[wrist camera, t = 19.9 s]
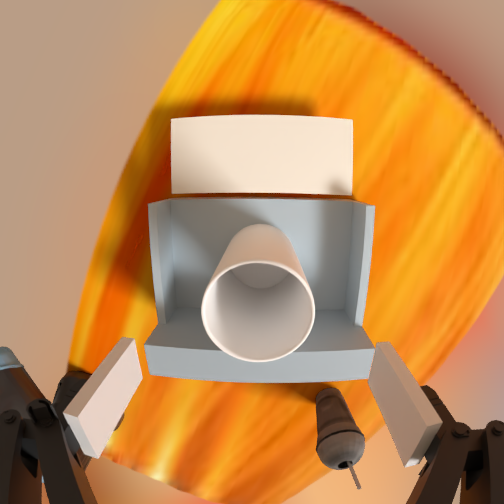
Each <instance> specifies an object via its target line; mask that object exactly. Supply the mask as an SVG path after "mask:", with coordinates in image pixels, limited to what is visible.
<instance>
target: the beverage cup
mask: <svg viewBox="0 0 504 504" xmlns="http://www.w3.org/2000/svg"><path fill="white" fill-rule="evenodd" d="M316 415H317V432H318V438H317V446H316V451H317V453H318V456H319V458H320V460H321V461H322V463H323V464H325V465H326V466H327V467H329V468H332V469H336V470H342V469H347V468H349V469H350V471H351V473H352V476H353V479H354V481H355V484H356V486H357V489H360V488H361V486H360V483H359V481H358V479H357V476H356V474H355V471H354V469H353V465H354V464H356V463H357V462H358V461H359V460H360V458H361V457H362V455H363V452H364V449H365V442H364V441H365V438H364V435H363V434H362V433H361V431H360V429H359V428H358V427H357V426H356V423H355V421H354V419H353V417H352V415H351V413H350V410H349V408H348V406H347V404H346V402H345V400H344V398H343V396H342V394H341V392H340V391H339V390H338V389H336V388H327V389H324V390H322V391H321V392H319V393H318V394H317V396H316Z"/></svg>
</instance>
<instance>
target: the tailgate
mask: <svg viewBox="0 0 504 504" xmlns="http://www.w3.org/2000/svg"><path fill="white" fill-rule="evenodd" d="M352 171H353V120H350V119H339V118H328V117H313V116H293V115H221V116H201V117H187V118H175V119H171V181H172V194H183V193H304V194H332V195H352Z"/></svg>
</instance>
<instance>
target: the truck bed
mask: <svg viewBox="0 0 504 504" xmlns="http://www.w3.org/2000/svg"><path fill="white" fill-rule="evenodd" d="M148 215H149V234H150V249H151V261H152V272H153V283H154V292H155V301H156V309H157V317H158V325H157V326H156V328H155V329H154V331H153V332H152V333H151V335H150V336H149V338H148V339H147V341H146V342H145V344H144V348H145V353H146V358H147V363H148V368H149V373H150V375H158V376H166V377H175V378H185V379H196V380H209V381H225V382H250V383H303V382H327V381H343V380H356V379H367V378H368V376H369V372H370V368H371V364H372V360H373V355H374V351H375V348H374V346H373V344H372V342H371V341H370V339H369V337H368V336H367V334H366V333H365V331H364V329H363V328H362V323H363V317H364V310H365V304H366V297H367V289H368V281H369V273H370V264H371V254H372V243H373V230H374V215H375V206H373V205H370V204H366V203H362V202H359V201H355V200H350V199H327V198H296V197H187V198H170V199H166V200H161V201H157V202H153V203H149V204H148ZM254 224H267V225H271V226H274V227H276V228H278V229H280V230H281V231H282V232H283V233H285V234H286V236H287V237H288V238H289V240H290V241H291V243H292V245H293V248H294V250H295V253H296V255H297V257H298V260H299V262H300V265H301V267H302V269H303V272H304V274H305V277H306V279H307V282H308V284H309V287H310V289H311V292H312V295H313V298H314V304H315V318H314V323H313V326H312V329H311V331H310V333H309V335H308V337H307V338H306V340H305V341H304V342H303V343H302V344H301V345H300V346H299V347H298V348H297V349H296V350H295V351H293V352H292V353H290V354H288V355H286V356H284V357H282V358H280V359H276V360H273V361H267V362H250V361H244V360H241V359H237V358H235V357H233V356H231V355H229V354H227V353H225V352H224V351H222V350H221V349H220V348H219V347H218V346H216V345H215V343H214V342H213V341H212V340H211V339H210V337H209V336H208V334H207V332H206V330H205V328H204V325H203V321H202V315H201V306H202V300H203V296H204V293H205V290H206V288H207V286H208V284H209V282H210V280H211V278H212V276H213V274H214V272H215V270H216V268H217V266H218V264H219V263H220V261H221V259H222V257H223V255H224V253H225V251H226V249H227V247H228V245H229V243H230V242H231V240H232V238H233V237H234V236H235V235H236V234H237V233H238V232H239V231H240V230H242V229H243V228H245V227H247V226H250V225H254Z"/></svg>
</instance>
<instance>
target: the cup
mask: <svg viewBox="0 0 504 504" xmlns="http://www.w3.org/2000/svg"><path fill="white" fill-rule="evenodd" d="M201 315H202V321H203V325H204V328H205V330H206V332H207V334H208V336H209V337H210V339H211V340H212V341H213V342H214V343H215V345H216V346H218V347H219V348H220V349H221V350H222V351H224V352H225V353H227V354H229V355H231V356H233V357H235V358H237V359H241V360H244V361H250V362H267V361H273V360H276V359H280V358H282V357H284V356H286V355H288V354H290V353H292V352H293V351H295V350H296V349H297V348H298V347H299V346H300V345H301V344H302V343H303V342H304V341H305V340H306V338H307V337H308V335H309V333H310V331H311V329H312V326H313V323H314V318H315V304H314V298H313V295H312V292H311V289H310V287H309V284H308V282H307V279H306V277H305V274H304V272H303V269H302V267H301V265H300V262H299V260H298V257H297V255H296V253H295V250H294V248H293V245H292V243H291V241H290V240H289V238H288V237H287V236H286V234H285V233H283V232H282V231H281V230H280V229H278V228H276V227H274V226H271V225H267V224H254V225H250V226H247V227H245V228H243V229H242V230H240V231H239V232H238V233H237V234H236V235H235V236H234V237H233V238H232V240H231V242H230V243H229V245H228V247H227V249H226V251H225V253H224V255H223V257H222V259H221V261H220V263H219V264H218V266H217V268H216V270H215V272H214V274H213V276H212V278H211V280H210V282H209V284H208V286H207V288H206V290H205V293H204V296H203V300H202V306H201Z"/></svg>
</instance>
